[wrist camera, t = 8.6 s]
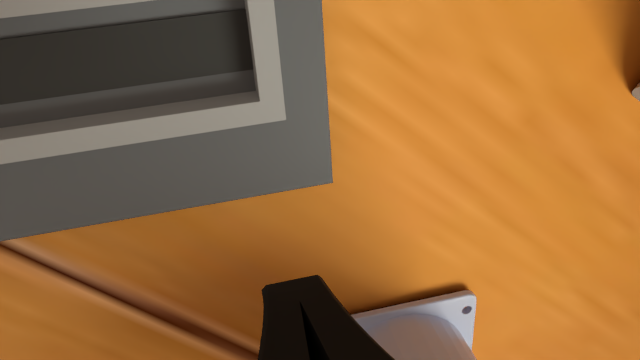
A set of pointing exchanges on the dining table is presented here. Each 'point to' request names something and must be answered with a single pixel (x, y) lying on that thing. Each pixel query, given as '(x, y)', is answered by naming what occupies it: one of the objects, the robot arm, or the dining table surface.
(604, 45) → the dining table surface
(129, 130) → the console board
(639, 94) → the grey angular block
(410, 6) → the dining table surface
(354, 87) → the dining table surface
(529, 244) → the dining table surface
